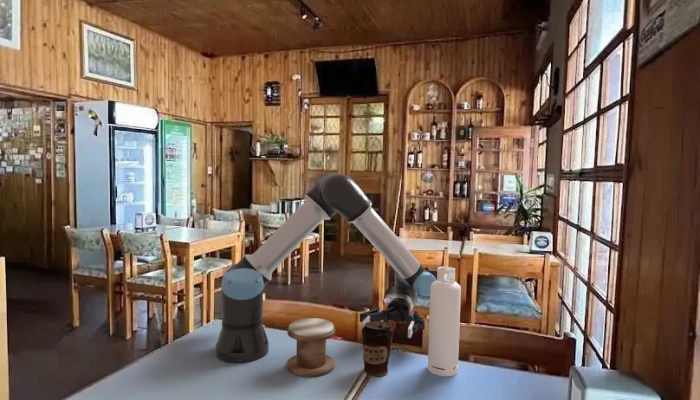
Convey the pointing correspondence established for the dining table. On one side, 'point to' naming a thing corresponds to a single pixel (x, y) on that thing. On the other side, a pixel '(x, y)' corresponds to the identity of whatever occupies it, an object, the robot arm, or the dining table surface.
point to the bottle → (444, 323)
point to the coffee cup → (376, 347)
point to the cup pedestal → (311, 347)
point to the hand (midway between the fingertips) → (385, 330)
